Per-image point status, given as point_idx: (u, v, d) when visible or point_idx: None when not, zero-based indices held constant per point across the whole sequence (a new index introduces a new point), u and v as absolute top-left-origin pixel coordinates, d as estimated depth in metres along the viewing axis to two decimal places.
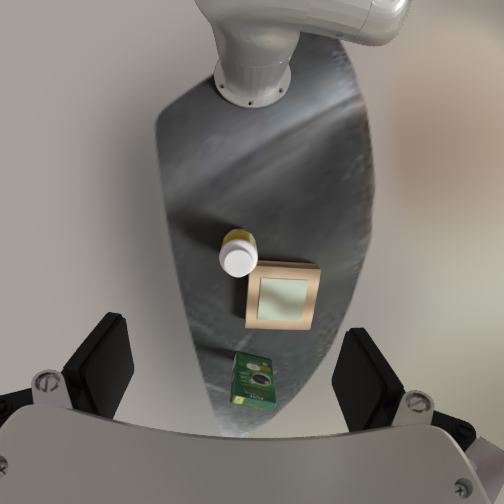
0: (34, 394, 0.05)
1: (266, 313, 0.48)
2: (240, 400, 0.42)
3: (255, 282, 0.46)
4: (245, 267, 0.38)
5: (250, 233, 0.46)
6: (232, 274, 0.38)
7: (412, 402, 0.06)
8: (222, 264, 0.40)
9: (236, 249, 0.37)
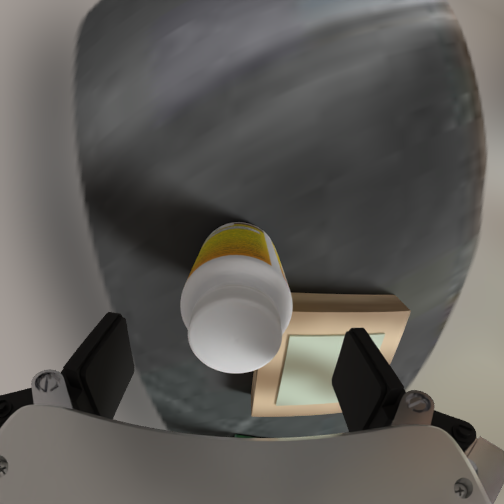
0: (34, 394, 0.05)
1: (295, 396, 0.21)
2: None
3: None
4: (259, 351, 0.11)
5: (265, 233, 0.19)
6: (217, 367, 0.11)
7: (412, 402, 0.06)
8: None
9: (228, 295, 0.11)
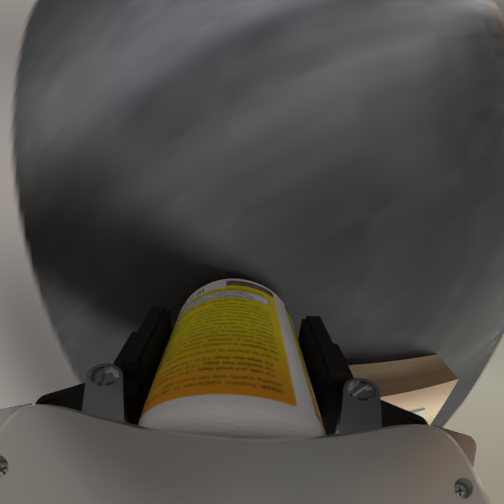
0: (92, 389, 0.06)
1: None
2: None
3: None
4: None
5: (276, 296, 0.12)
6: None
7: (355, 391, 0.07)
8: None
9: None
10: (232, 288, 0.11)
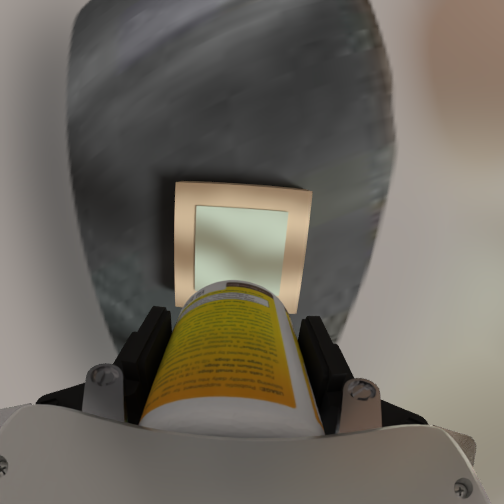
0: (92, 389, 0.06)
1: (211, 279, 0.25)
2: None
3: (185, 215, 0.24)
4: None
5: (276, 297, 0.12)
6: None
7: (355, 391, 0.07)
8: None
9: None
10: (232, 290, 0.11)
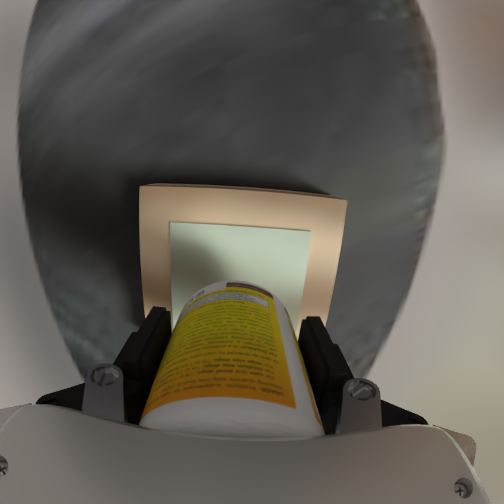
0: (92, 389, 0.06)
1: None
2: None
3: (155, 236, 0.15)
4: None
5: (276, 297, 0.12)
6: None
7: (355, 391, 0.07)
8: None
9: None
10: (232, 290, 0.11)
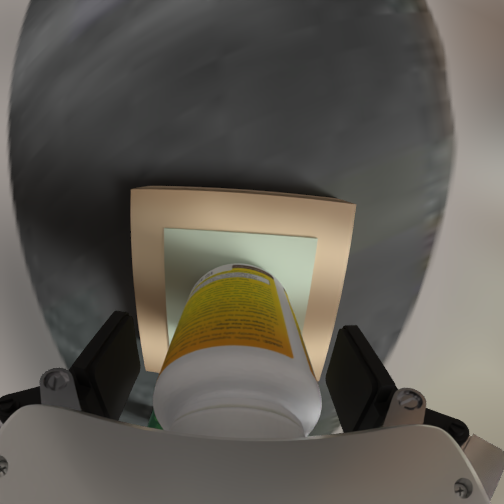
0: (43, 393, 0.05)
1: None
2: None
3: (148, 243, 0.14)
4: None
5: (275, 279, 0.14)
6: None
7: (403, 400, 0.06)
8: None
9: (223, 432, 0.05)
10: (237, 270, 0.13)
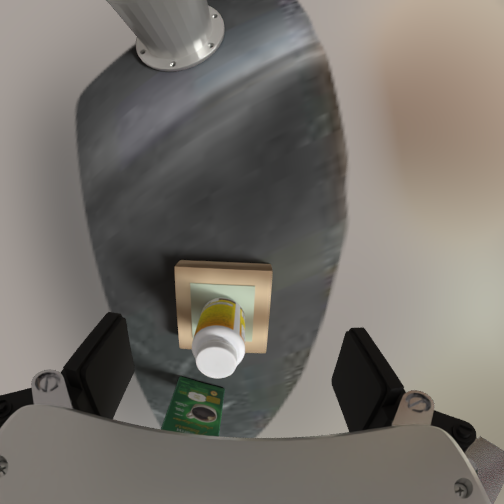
0: (34, 394, 0.05)
1: None
2: None
3: (183, 289, 0.34)
4: (227, 368, 0.25)
5: (237, 303, 0.33)
6: (209, 375, 0.25)
7: (412, 402, 0.06)
8: None
9: (212, 345, 0.24)
10: (220, 301, 0.32)
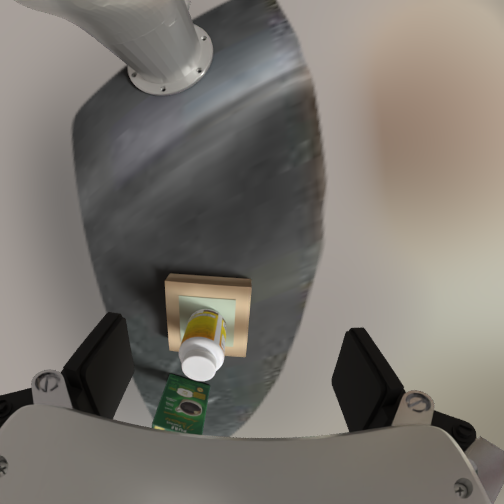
0: (34, 394, 0.05)
1: None
2: None
3: (172, 300, 0.38)
4: (207, 373, 0.29)
5: (219, 314, 0.37)
6: (193, 378, 0.29)
7: (412, 402, 0.06)
8: None
9: (195, 354, 0.29)
10: (205, 312, 0.36)
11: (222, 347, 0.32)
